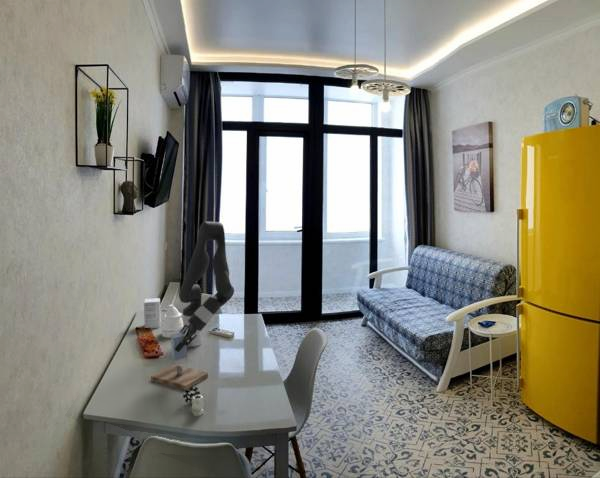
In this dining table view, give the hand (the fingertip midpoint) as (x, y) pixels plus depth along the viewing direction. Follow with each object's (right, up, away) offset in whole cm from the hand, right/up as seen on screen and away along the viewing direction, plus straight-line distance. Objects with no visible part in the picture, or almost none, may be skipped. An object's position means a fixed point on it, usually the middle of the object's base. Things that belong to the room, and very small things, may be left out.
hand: (175, 348), depth 172 cm
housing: (+2, -4, +1) cm, 5 cm away
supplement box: (-38, -7, +75) cm, 85 cm away
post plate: (+1, -14, +2) cm, 14 cm away
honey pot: (-21, -9, +61) cm, 65 cm away
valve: (+15, -17, -23) cm, 32 cm away
